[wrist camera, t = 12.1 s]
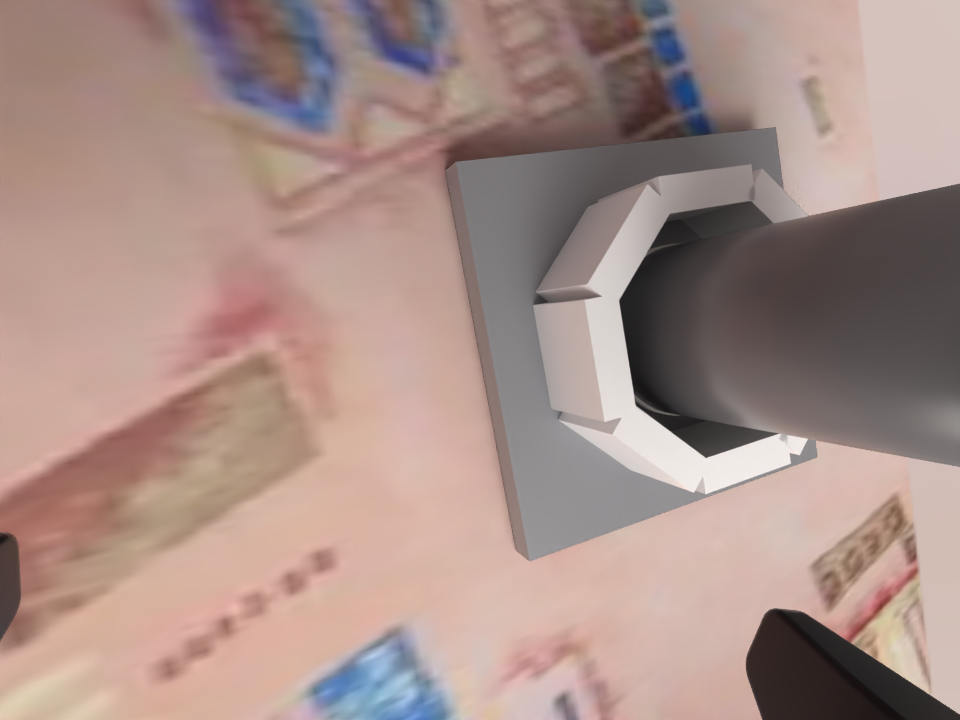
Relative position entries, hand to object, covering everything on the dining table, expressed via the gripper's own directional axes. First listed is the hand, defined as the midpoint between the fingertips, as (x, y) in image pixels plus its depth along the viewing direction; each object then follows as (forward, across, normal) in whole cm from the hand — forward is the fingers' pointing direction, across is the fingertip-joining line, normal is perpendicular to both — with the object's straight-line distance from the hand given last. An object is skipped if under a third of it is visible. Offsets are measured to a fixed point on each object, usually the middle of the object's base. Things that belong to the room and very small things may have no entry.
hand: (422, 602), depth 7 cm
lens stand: (+13, -8, -1) cm, 15 cm away
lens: (+12, -8, -1) cm, 15 cm away
